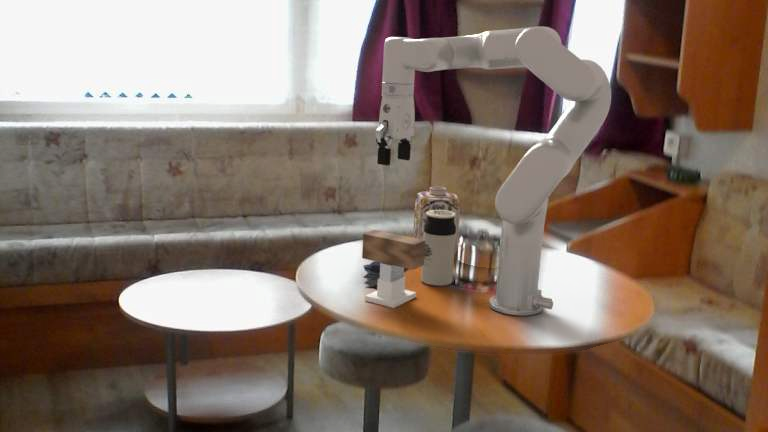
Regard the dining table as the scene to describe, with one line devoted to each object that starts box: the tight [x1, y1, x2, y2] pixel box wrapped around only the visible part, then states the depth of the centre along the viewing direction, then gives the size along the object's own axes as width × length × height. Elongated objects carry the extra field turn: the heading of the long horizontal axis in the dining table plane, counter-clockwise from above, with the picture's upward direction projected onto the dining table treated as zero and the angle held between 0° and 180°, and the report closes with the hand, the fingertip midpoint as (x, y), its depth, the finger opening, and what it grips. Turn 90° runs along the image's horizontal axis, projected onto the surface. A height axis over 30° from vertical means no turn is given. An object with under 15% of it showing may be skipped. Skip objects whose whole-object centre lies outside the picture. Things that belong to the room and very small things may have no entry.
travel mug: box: [420, 210, 456, 287], centre depth 220 cm, size 8×8×18 cm
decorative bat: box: [362, 261, 406, 289], centre depth 224 cm, size 30×4×10 cm
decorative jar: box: [412, 186, 461, 255], centre depth 251 cm, size 12×12×18 cm
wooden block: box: [361, 229, 425, 271], centre depth 204 cm, size 14×5×6 cm, turn 57°
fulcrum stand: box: [364, 263, 417, 309], centre depth 206 cm, size 8×10×9 cm
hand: (393, 162), depth 210 cm, fingers open, 9 cm apart
